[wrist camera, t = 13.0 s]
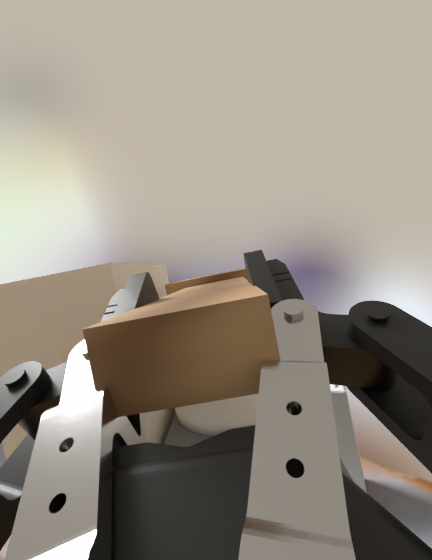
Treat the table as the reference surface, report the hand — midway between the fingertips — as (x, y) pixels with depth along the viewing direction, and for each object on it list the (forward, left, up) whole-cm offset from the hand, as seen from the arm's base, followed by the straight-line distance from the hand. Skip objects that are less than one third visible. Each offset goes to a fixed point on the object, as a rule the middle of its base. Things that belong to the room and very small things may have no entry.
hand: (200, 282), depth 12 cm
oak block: (0, +6, -3) cm, 6 cm away
